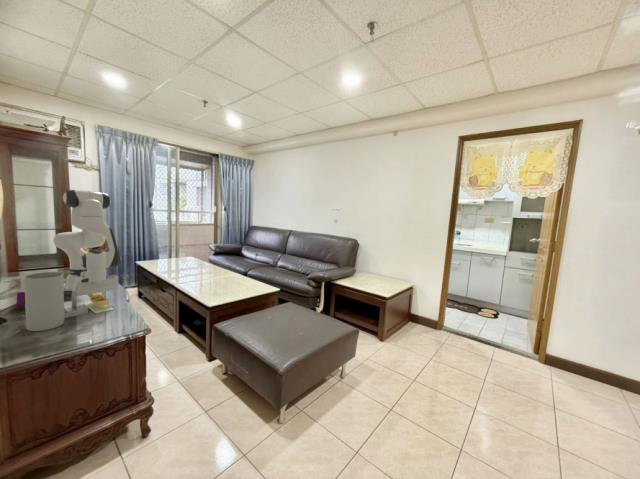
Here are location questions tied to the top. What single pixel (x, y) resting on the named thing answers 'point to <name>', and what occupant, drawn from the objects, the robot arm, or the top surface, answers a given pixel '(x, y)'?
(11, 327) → the top surface
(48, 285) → the cylinder vase
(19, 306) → the mounting bracket
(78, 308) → the toggle switch block
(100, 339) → the top surface
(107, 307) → the sage mat
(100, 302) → the brass hook
